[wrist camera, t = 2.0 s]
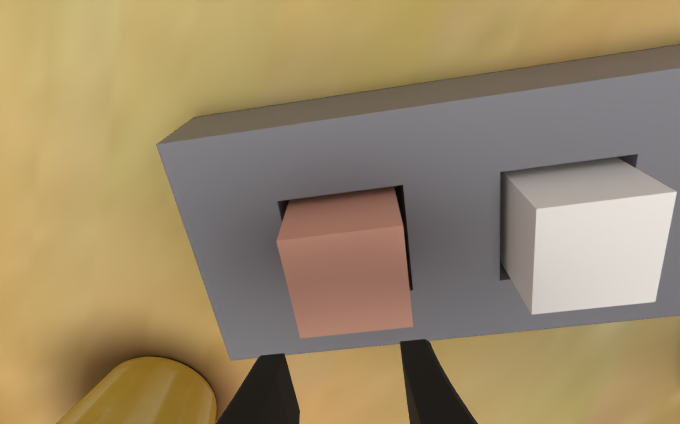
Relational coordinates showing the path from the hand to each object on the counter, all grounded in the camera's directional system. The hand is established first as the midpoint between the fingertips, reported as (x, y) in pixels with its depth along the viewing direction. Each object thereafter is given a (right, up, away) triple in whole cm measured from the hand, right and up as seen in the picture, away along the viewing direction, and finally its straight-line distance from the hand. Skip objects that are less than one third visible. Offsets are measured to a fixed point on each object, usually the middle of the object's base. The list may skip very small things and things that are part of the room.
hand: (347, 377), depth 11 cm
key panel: (+4, +5, +9) cm, 11 cm away
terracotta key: (0, +3, +7) cm, 8 cm away
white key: (+8, +4, +6) cm, 11 cm away
